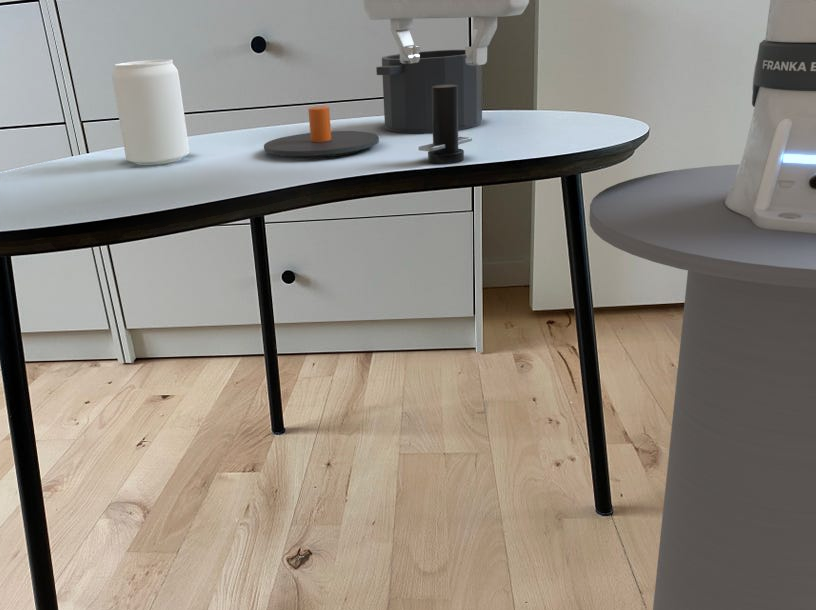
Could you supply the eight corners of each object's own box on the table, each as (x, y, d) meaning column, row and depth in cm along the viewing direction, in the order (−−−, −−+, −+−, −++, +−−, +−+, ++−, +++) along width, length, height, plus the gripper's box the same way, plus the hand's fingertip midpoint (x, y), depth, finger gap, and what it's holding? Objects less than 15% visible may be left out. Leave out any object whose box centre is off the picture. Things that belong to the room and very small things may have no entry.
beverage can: (132, 169, 103) (115, 67, 98) (122, 160, 109) (105, 64, 105) (196, 160, 105) (182, 60, 100) (182, 151, 112) (169, 57, 107)
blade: (452, 153, 97) (451, 81, 94) (479, 156, 94) (479, 82, 91) (411, 164, 93) (409, 89, 90) (438, 167, 90) (436, 90, 87)
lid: (403, 144, 105) (401, 102, 103) (315, 165, 96) (312, 119, 94) (326, 137, 115) (324, 98, 113) (241, 155, 106) (237, 113, 104)
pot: (512, 117, 119) (513, 47, 115) (422, 139, 108) (420, 61, 104) (441, 113, 128) (439, 48, 125) (351, 132, 117) (347, 61, 113)
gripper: (545, -92, 79) (540, 62, 84) (391, -72, 93) (395, 59, 98) (504, -93, 75) (501, 69, 81) (350, -72, 89) (356, 65, 95)
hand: (441, 63), depth 90 cm, fingers open, 8 cm apart
